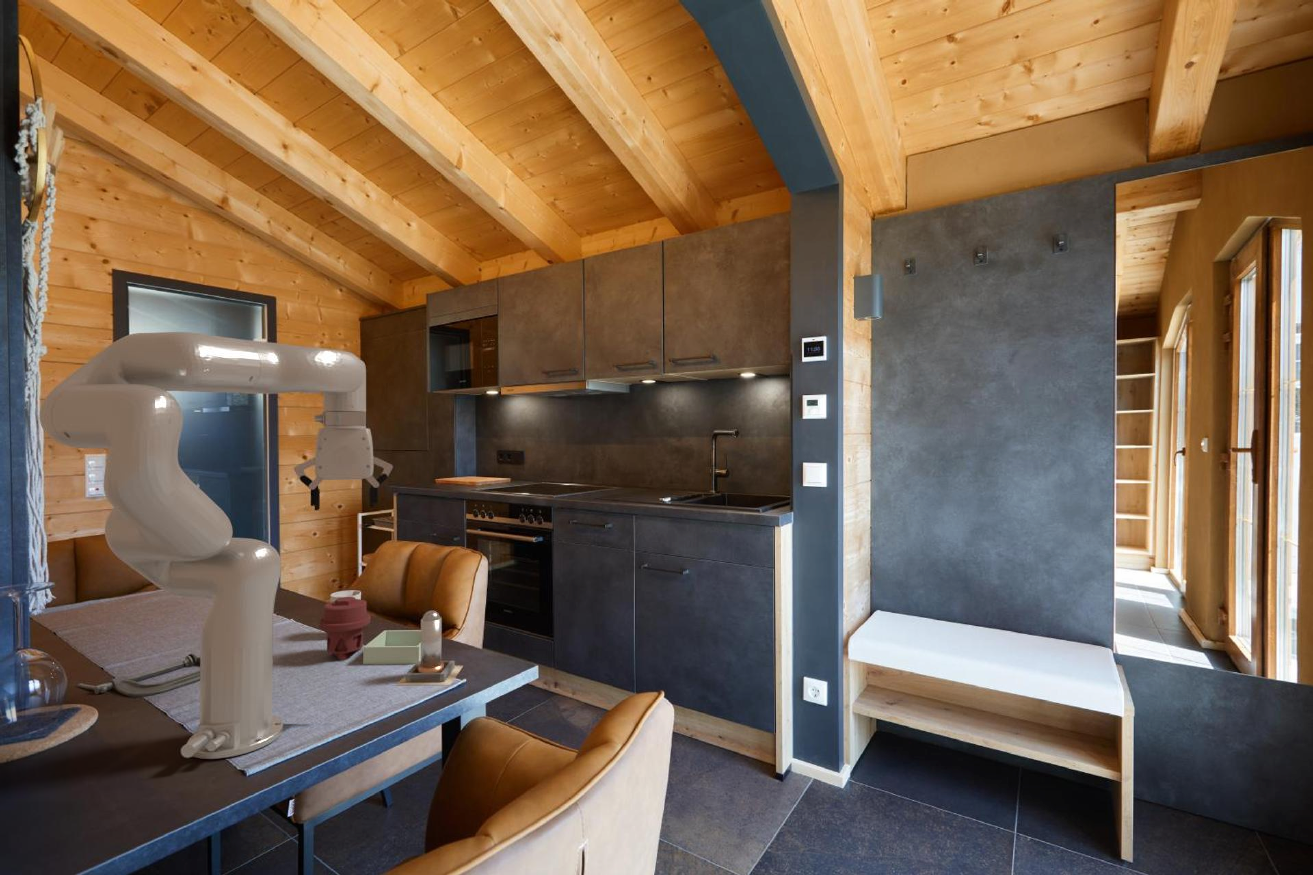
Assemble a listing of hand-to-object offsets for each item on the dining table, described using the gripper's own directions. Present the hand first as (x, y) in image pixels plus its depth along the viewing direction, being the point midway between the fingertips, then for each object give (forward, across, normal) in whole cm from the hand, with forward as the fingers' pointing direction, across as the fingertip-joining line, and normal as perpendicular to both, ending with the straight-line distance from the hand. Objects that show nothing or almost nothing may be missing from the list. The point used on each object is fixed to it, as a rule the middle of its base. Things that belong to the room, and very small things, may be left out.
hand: (344, 508), depth 123 cm
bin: (+34, +10, +7) cm, 36 cm away
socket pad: (+34, +15, -8) cm, 38 cm away
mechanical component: (+34, 0, +15) cm, 37 cm away
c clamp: (+34, -33, +15) cm, 50 cm away
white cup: (+34, -1, +30) cm, 45 cm away
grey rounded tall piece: (+32, +15, -8) cm, 37 cm away
